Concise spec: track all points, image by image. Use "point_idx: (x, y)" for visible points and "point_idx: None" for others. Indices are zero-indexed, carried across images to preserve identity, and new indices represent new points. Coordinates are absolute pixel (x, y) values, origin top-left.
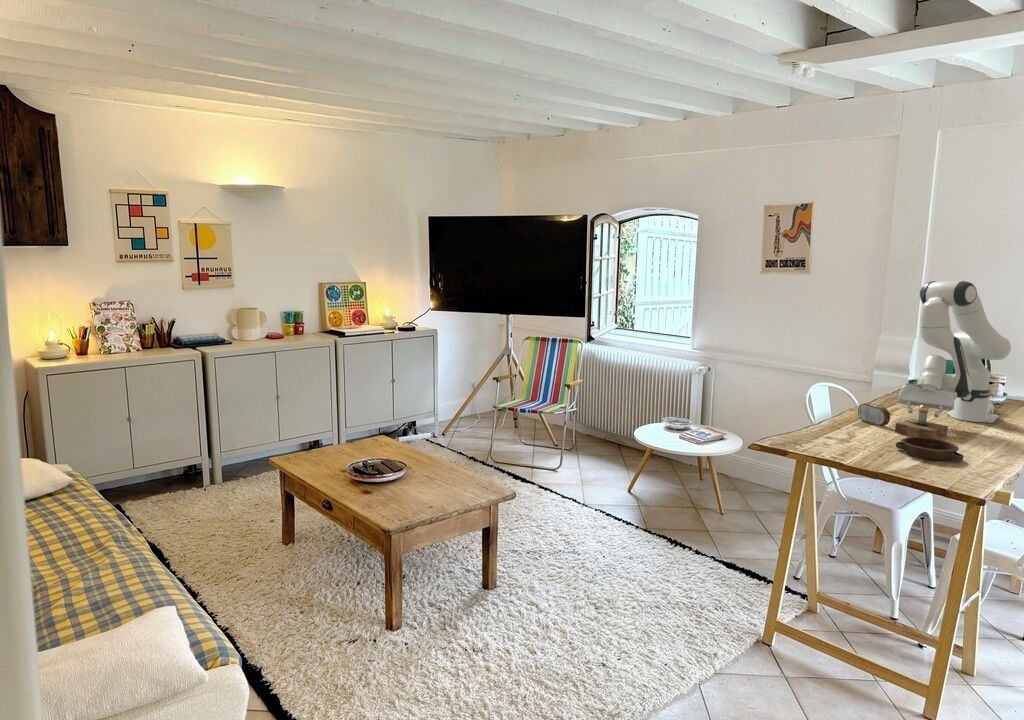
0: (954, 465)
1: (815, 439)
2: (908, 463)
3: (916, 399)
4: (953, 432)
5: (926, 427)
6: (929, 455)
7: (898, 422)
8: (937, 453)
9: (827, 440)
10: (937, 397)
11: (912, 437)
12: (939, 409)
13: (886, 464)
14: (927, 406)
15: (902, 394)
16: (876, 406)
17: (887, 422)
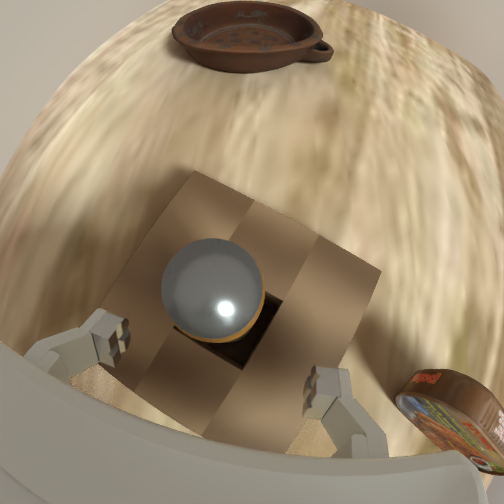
0: None
1: (481, 108)
2: None
3: (299, 479)
4: None
5: None
6: (251, 15)
7: (369, 300)
8: (235, 9)
9: (466, 105)
10: (11, 456)
11: (293, 43)
12: (65, 342)
13: (327, 9)
14: (175, 261)
15: (464, 501)
16: (498, 417)
17: (403, 389)
